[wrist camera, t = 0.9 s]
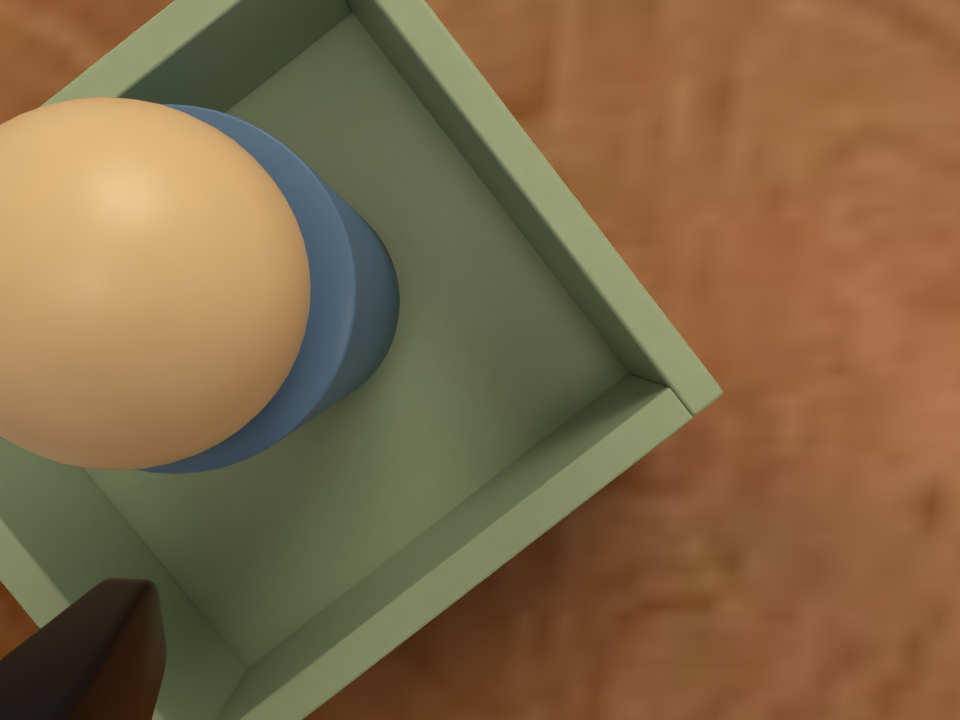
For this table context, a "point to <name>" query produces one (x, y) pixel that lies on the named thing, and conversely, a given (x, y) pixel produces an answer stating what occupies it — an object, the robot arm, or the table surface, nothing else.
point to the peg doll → (175, 287)
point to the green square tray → (388, 391)
